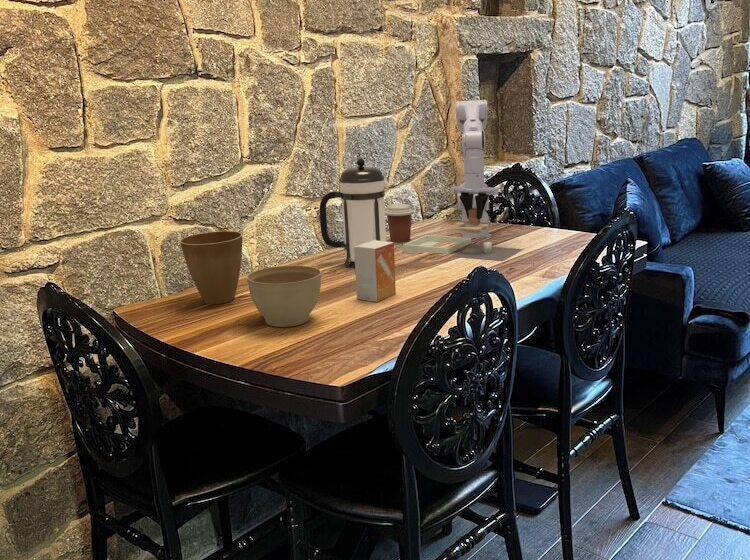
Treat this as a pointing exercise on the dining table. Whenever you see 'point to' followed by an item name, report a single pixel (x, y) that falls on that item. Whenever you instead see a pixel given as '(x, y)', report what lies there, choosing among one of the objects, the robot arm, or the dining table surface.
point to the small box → (375, 270)
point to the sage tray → (429, 240)
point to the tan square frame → (470, 224)
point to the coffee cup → (399, 223)
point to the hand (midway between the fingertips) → (474, 218)
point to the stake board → (482, 256)
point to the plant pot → (214, 263)
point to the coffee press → (358, 209)
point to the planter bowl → (285, 293)
